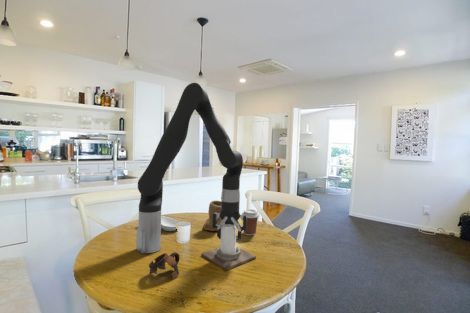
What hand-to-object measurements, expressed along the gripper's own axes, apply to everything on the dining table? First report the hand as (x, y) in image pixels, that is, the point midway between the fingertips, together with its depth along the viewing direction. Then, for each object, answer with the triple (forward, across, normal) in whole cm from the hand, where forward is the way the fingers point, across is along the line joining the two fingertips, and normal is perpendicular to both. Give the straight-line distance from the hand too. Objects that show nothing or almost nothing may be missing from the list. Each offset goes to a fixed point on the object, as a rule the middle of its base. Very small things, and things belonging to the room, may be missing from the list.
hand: (229, 238), depth 105 cm
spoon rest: (+8, +41, -28) cm, 50 cm away
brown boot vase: (+8, +13, -34) cm, 38 cm away
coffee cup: (+8, -7, -30) cm, 31 cm away
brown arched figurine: (+8, +20, +17) cm, 27 cm away
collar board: (+8, 0, 0) cm, 8 cm away
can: (+7, 0, 0) cm, 7 cm away
